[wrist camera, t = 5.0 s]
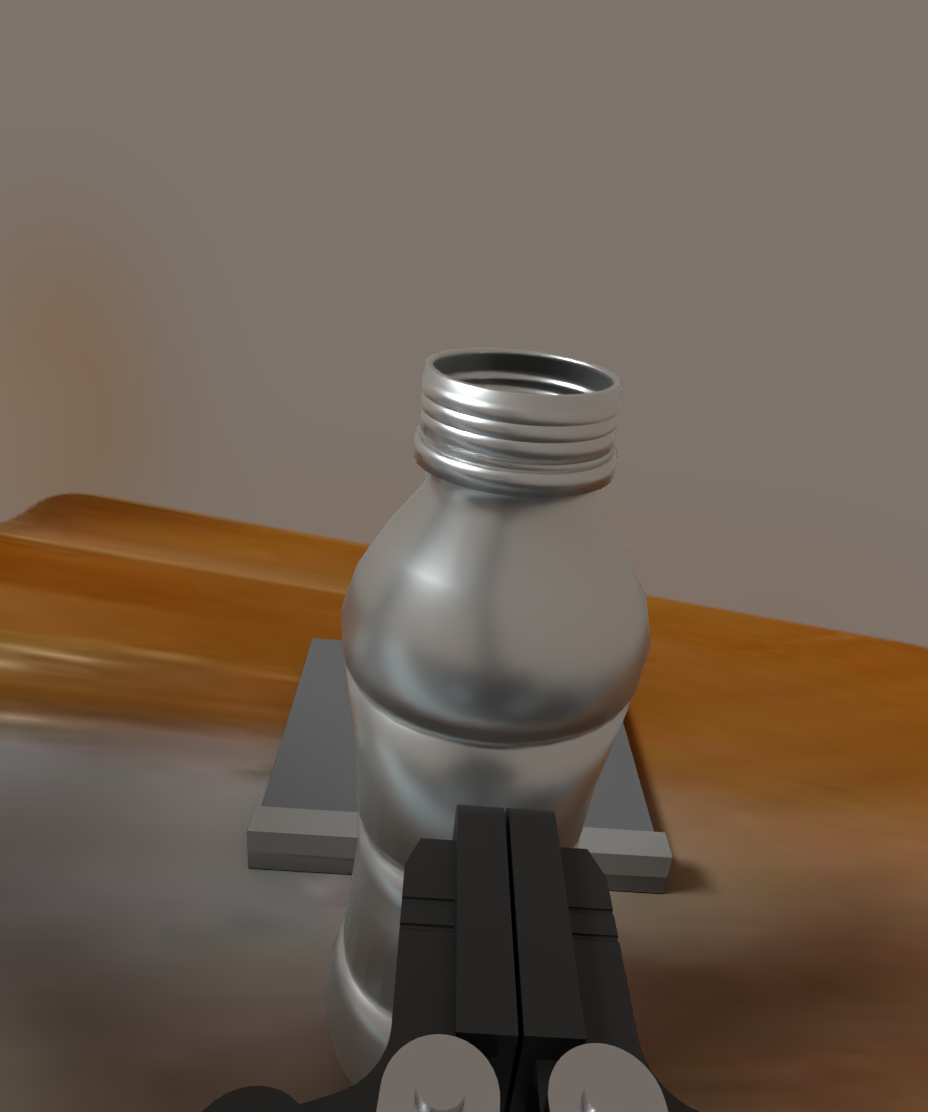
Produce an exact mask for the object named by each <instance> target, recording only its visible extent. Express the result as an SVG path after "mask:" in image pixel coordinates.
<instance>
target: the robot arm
mask: <svg viewBox="0 0 928 1112" xmlns="http://www.w3.org/2000/svg"><path fill="white" fill-rule="evenodd" d="M612 911H613V908H612V903H611V898H610V893H609V888H608V883H607V878H606V876H605V875H604V873H603V872H602V870H601V869H600V867H599V866H598V864H597V863H596V861H595V860H594V858H593V857H592V855H591V854H590V852H589V851H588V849H581V848H566V847H560V843H559V836H558V828H557V821H556V816H555V813H554V811H548V810H534V809H519V808H506V811H505V812H504V808H501V807H486V806H472V805H457V806H456V813H455V821H454V830H453V839H452V840H442V839H427V838H421V839H420V840H419V842H418V844H417V845H416V847H415V848H414V850H413V852H412V853H411V855H410V857H409V858H408V860H407V862H406V863H405V867H404V879H403V891H402V903H401V915H400V927H399V940H398V952H397V964H396V976H395V988H394V1000H393V1012H392V1025H391V1032H390V1038H389V1041H388V1044H387V1047H386V1049H385V1051H384V1053H383V1055H382V1057H381V1059H380V1060H379V1062H378V1063H377V1064H376V1066H375V1067H374V1068H373V1069H372V1070H371V1071H370V1072H369V1073H368V1075H367V1076H365V1077H364V1078H363V1079H362V1080H360V1081H359V1082H358V1083H356V1084H355V1085H353V1086H351V1087H349V1088H348V1089H346V1090H343V1091H340V1092H338V1093H335V1094H332V1095H329V1096H326V1097H322V1098H319V1099H316V1100H313V1101H309V1102H306V1103H303V1104H300V1105H299V1104H298V1103H297V1102H296V1101H295V1100H294V1099H293V1098H291V1097H290V1096H289V1095H288V1094H286V1093H284V1092H282V1091H280V1090H278V1089H274V1088H271V1087H265V1086H249V1087H244V1088H240V1089H236V1090H234V1091H232V1092H229V1093H227V1094H225V1095H223V1096H222V1097H220V1098H218V1099H217V1100H215V1101H214V1102H213V1103H211V1104H210V1105H209V1106H208V1107H207V1108H205V1109H204V1110H203V1111H202V1112H698V1111H696V1110H694V1109H692V1108H690V1107H688V1106H687V1105H685V1104H684V1103H682V1102H681V1101H679V1100H678V1099H677V1098H675V1097H674V1096H673V1095H672V1094H671V1093H669V1092H668V1091H667V1090H666V1089H665V1088H664V1087H663V1086H662V1085H661V1083H660V1082H659V1081H658V1080H657V1078H656V1077H655V1076H654V1074H653V1073H652V1072H651V1070H650V1068H649V1067H648V1065H647V1063H646V1061H645V1059H644V1056H643V1054H642V1052H641V1048H640V1045H639V1041H638V1036H637V1031H636V1026H635V1021H634V1016H633V1011H632V1005H631V1000H630V995H629V990H628V985H627V980H626V975H625V970H624V965H623V959H622V954H621V949H620V944H619V942H618V934H617V929H616V924H615V919H614V916H613V914H612Z"/></svg>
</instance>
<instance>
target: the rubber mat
mask: <svg viewBox="0 0 928 1112" xmlns="http://www.w3.org/2000/svg"><path fill="white" fill-rule="evenodd" d="M357 816H358V803H357V752H356V745H355V737H354V729H353V722H352V714H351V706H350V699H349V691H348V683H347V676H346V668H345V659H344V653H343V643H342V640H330V639H316V638H313V639H312V642H311V645H310V649H309V652H308V655H307V659H306V662H305V665H304V668H303V672H302V675H301V678H300V682H299V685H298V688H297V691H296V695H295V698H294V701H293V705H292V708H291V711H290V714H289V718H288V721H287V724H286V728H285V731H284V734H283V737H282V741H281V744H280V747H279V751H278V754H277V757H276V760H275V764H274V767H273V770H272V774H271V777H270V780H269V783H268V787H267V790H266V793H265V797H264V800H263V803H262V806H254V810H253V813H252V816H251V819H250V822H249V825H248V829H247V847H248V868H255V869H271V870H288V871H304V872H320V873H337V874H352V872H353V866H354V860H355V854H356V848H357V842H358V832H357ZM578 848H581V849H588V851H589V852H590V854H591V855H592V857H593V858H594V860H595V861H596V863H597V864H598V866H599V867H600V869H601V870H602V872H603V873H604V875H605V876H606V878H607V883H608V888H609V890H613V891H630V892H646V893H662V894H663V891H664V887H665V883H666V880H667V876H668V873H669V869H670V866H671V862H672V858H673V857H672V854H671V850H670V847H669V844H668V840H667V837H666V834H665V832H654V830H653V826H652V823H651V819H650V816H649V812H648V809H647V805H646V802H645V798H644V794H643V791H642V787H641V784H640V780H639V777H638V773H637V770H636V766H635V763H634V759H633V756H632V752H631V748H630V745H629V741H628V738H627V734H626V731H625V727H624V724H623V722H622V724H621V727H620V729H619V731H618V734H617V736H616V739H615V741H614V743H613V746H612V748H611V750H610V753H609V755H608V757H607V760H606V762H605V764H604V767H603V769H602V772H601V774H600V776H599V779H598V781H597V783H596V786H595V789H594V793H593V796H592V800H591V803H590V807H589V810H588V814H587V817H586V821H585V824H584V827H583V830H582V833H581V835H580V840H579V845H578Z"/></svg>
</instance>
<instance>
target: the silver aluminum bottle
mask: <svg viewBox="0 0 928 1112" xmlns="http://www.w3.org/2000/svg"><path fill="white" fill-rule="evenodd" d="M422 385H423V386H422V405H421V423H420V424H419V425H418V426H417V428H416V429H415V436H414V458H415V460H416V462H417V464H419V465H420V466H421V467H422V468H423V469H424V470H425V471H427V476H426V480H425V482H424V483H423V484H422V485H421V487H419V488H418V490H417V491H416V492H415V493H414V494H413V495H412V496H411V497H410V498H409V499H408V500H407V501H406V502H405V504H404V505H403V506H402V507H401V508H400V509H399V510H398V511H397V512H396V513H395V514H394V515H393V516H392V517H391V518H390V520H389V521H388V522H387V524H386V525H385V526H384V528H383V529H382V531H381V532H380V533H379V535H378V536H377V537H376V539H375V540H374V541H373V543H372V544H371V545H370V547H369V548H368V549H367V551H366V552H365V554H364V555H363V557H362V558H361V560H360V561H359V563H358V564H357V567H356V570H355V572H354V575H353V577H352V580H351V583H350V585H349V588H348V591H347V593H346V596H345V599H344V603H343V608H342V613H341V618H342V643H343V653H344V659H345V668H346V676H347V683H348V691H349V699H350V706H351V714H352V722H353V729H354V737H355V745H356V752H357V803H358V816H357V832H358V842H357V848H356V854H355V860H354V866H353V872H352V878H351V884H350V890H349V896H348V902H347V908H346V912H345V915H344V918H343V920H342V923H341V926H340V928H339V931H338V934H337V937H336V939H335V942H334V946H333V951H332V955H331V959H330V964H329V968H328V972H327V979H326V987H325V1004H326V1015H327V1020H328V1024H329V1028H330V1032H331V1036H332V1041H333V1045H334V1048H335V1051H336V1054H337V1057H338V1060H339V1063H340V1066H341V1067H342V1069H343V1071H344V1072H345V1074H346V1076H347V1078H348V1079H349V1081H350V1083H351V1084H352V1085H355V1084H356V1083H358V1082H359V1081H360V1080H362V1079H363V1078H364V1077H365V1076H367V1075H368V1073H369V1072H370V1071H371V1070H372V1069H373V1068H374V1067H375V1066H376V1064H377V1063H378V1062H379V1060H380V1059H381V1057H382V1055H383V1053H384V1051H385V1049H386V1047H387V1044H388V1041H389V1038H390V1032H391V1025H392V1012H393V1000H394V988H395V976H396V964H397V952H398V940H399V927H400V915H401V903H402V891H403V879H404V867H405V863H406V862H407V860H408V858H409V857H410V855H411V853H412V852H413V850H414V848H415V847H416V845H417V844H418V842H419V840H420V839H421V838H427V839H442V840H452V839H453V830H454V821H455V813H456V806H457V805H472V806H486V807H501V808H504V812H505V811H506V808H519V809H534V810H548V811H554V813H555V816H556V821H557V828H558V836H559V843H560V847H566V848H578V845H579V840H580V835H581V833H582V830H583V827H584V824H585V821H586V817H587V814H588V810H589V807H590V803H591V800H592V796H593V793H594V789H595V786H596V783H597V781H598V779H599V776H600V774H601V772H602V769H603V767H604V764H605V762H606V760H607V757H608V755H609V753H610V750H611V748H612V746H613V743H614V741H615V739H616V736H617V734H618V731H619V729H620V727H621V724H622V722H623V720H624V717H625V715H626V713H627V710H628V708H629V705H630V702H631V699H632V698H633V696H634V694H635V692H636V689H637V686H638V683H639V680H640V677H641V674H642V670H643V667H644V664H645V661H646V658H647V655H648V652H649V649H650V634H649V623H648V613H647V602H646V593H645V591H644V589H643V587H642V585H641V582H640V580H639V578H638V576H637V574H636V572H635V569H634V567H633V565H632V563H631V561H630V558H629V556H628V554H627V552H626V550H625V548H624V546H623V543H622V542H621V540H620V538H619V537H618V535H617V533H616V532H615V530H614V528H613V527H612V525H611V523H610V522H609V520H608V518H607V517H606V515H605V513H604V512H603V510H602V508H601V507H600V505H599V503H598V502H597V498H596V490H599V489H602V488H603V487H605V486H606V485H608V484H609V483H610V482H611V481H612V479H613V478H614V474H615V467H616V462H617V449H616V447H615V446H614V440H615V433H616V428H617V422H618V416H619V409H620V404H621V398H622V391H621V385H622V380H621V379H620V377H619V376H618V375H616V374H615V373H613V372H612V371H610V370H608V369H606V368H604V367H601V366H598V365H596V364H593V363H590V362H586V361H582V360H579V359H575V358H571V357H566V356H562V355H557V354H550V353H544V352H537V351H529V350H519V349H507V348H464V349H454V350H447V351H443V352H439V353H435V354H433V355H431V356H429V357H428V358H427V359H426V362H425V369H424V370H423V383H422Z"/></svg>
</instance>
